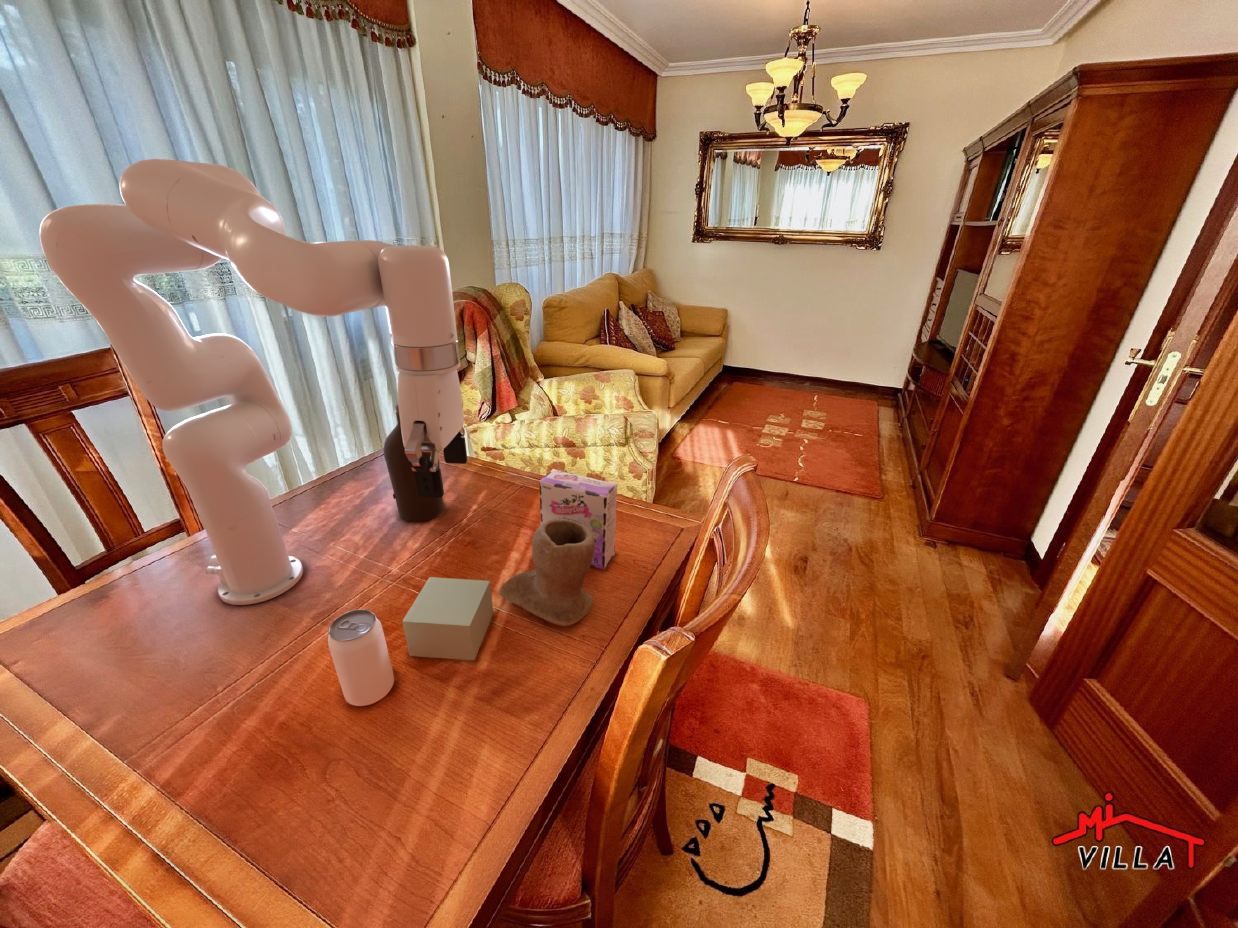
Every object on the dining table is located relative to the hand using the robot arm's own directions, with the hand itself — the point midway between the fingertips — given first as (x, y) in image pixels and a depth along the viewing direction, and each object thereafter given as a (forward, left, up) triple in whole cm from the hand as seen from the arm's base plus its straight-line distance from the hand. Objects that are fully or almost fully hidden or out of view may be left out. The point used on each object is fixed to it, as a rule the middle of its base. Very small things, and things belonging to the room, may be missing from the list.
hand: (444, 478), depth 69 cm
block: (-1, -2, -28) cm, 28 cm away
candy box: (+16, +21, -28) cm, 38 cm away
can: (-9, -13, -28) cm, 32 cm away
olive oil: (-21, +33, -28) cm, 49 cm away
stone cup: (+13, +8, -28) cm, 32 cm away
